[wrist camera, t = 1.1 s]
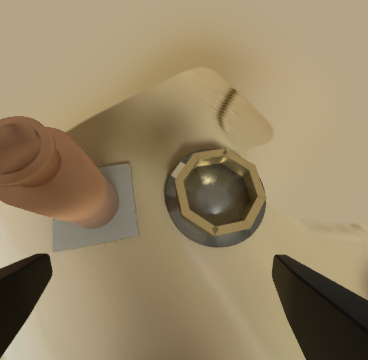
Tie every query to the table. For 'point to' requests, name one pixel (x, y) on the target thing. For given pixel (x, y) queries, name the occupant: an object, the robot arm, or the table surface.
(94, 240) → the tile
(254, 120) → the table surface
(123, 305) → the table surface
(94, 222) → the vase
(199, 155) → the holder
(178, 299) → the table surface
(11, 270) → the robot arm
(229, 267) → the table surface
